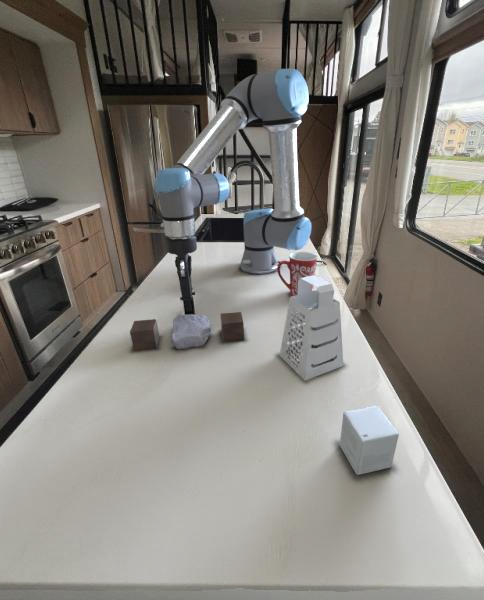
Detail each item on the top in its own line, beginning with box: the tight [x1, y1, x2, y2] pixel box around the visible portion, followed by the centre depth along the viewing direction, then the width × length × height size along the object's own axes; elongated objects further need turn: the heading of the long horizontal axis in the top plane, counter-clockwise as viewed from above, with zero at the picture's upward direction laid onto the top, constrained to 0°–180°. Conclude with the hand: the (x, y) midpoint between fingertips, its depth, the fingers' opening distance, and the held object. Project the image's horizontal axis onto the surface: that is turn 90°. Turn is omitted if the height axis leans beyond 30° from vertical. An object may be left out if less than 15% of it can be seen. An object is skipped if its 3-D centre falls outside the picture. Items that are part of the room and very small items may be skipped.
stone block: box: [171, 314, 212, 350], centre depth 85 cm, size 12×5×10 cm
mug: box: [276, 251, 319, 297], centre depth 105 cm, size 13×9×14 cm
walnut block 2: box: [220, 311, 245, 343], centre depth 84 cm, size 6×6×6 cm
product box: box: [339, 405, 400, 476], centre depth 50 cm, size 6×6×7 cm
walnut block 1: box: [129, 318, 160, 352], centre depth 82 cm, size 6×6×6 cm
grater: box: [279, 274, 344, 381], centre depth 71 cm, size 10×10×20 cm
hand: (190, 318), depth 90 cm, fingers closed
